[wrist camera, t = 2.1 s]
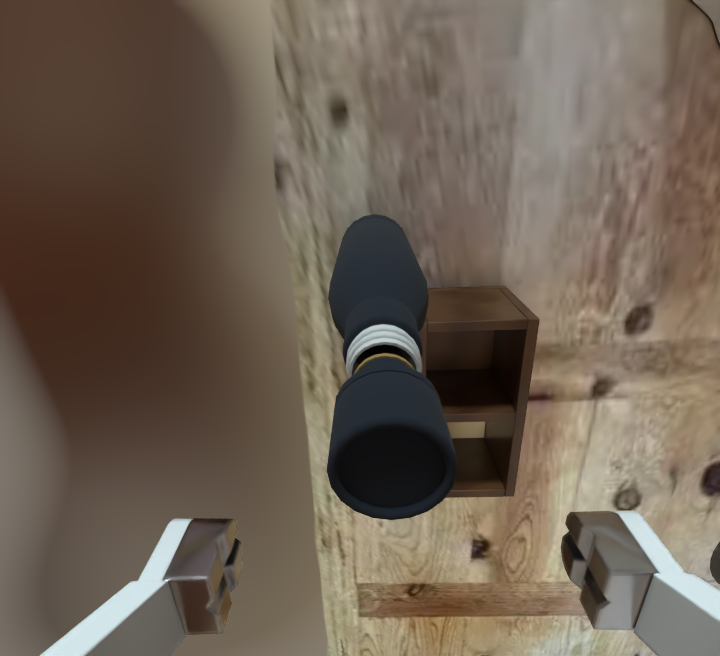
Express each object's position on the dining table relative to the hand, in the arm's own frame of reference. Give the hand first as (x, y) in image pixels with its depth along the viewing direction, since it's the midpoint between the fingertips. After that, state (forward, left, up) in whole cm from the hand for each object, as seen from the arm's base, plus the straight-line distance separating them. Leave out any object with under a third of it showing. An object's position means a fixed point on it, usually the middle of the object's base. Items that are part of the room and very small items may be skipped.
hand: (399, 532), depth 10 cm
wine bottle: (0, 0, -32) cm, 32 cm away
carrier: (-8, +13, -32) cm, 36 cm away
